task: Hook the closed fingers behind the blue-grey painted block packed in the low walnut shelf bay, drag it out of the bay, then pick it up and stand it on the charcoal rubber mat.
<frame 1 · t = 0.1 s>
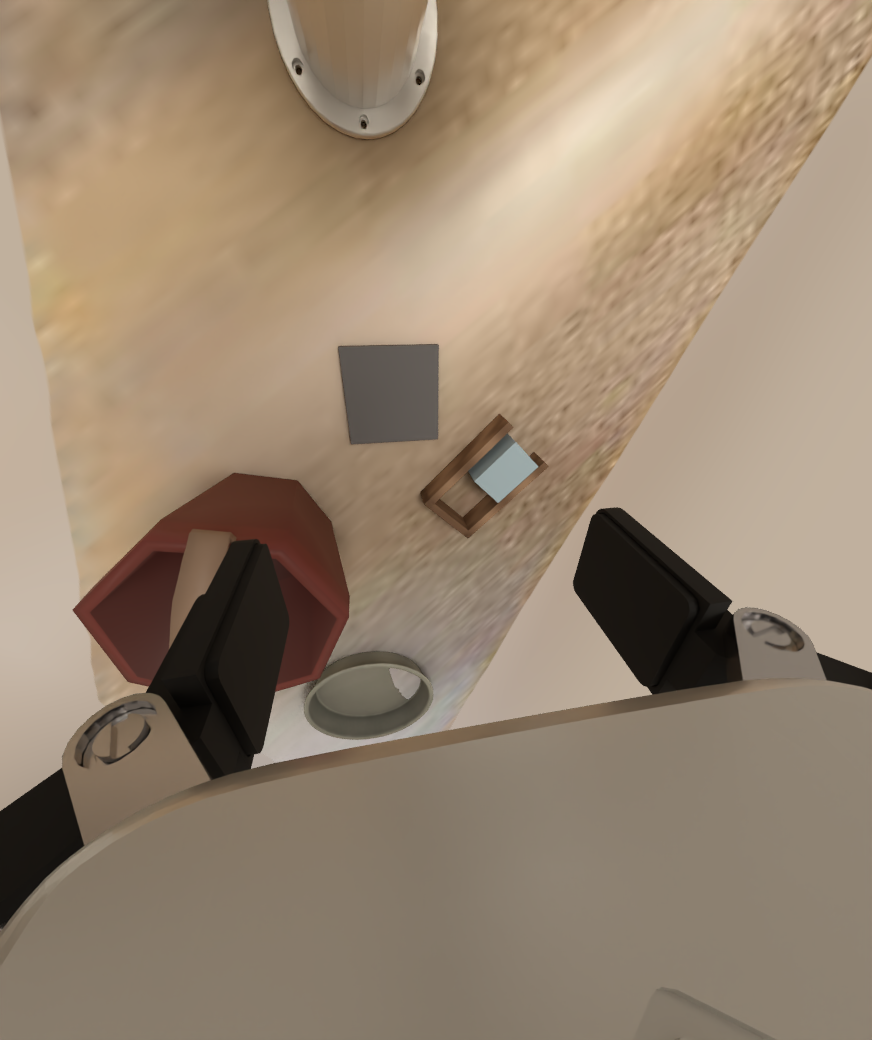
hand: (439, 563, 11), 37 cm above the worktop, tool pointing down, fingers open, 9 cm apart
mat: (392, 395, 43), on the worktop
bucket: (262, 526, 50), on the worktop
shelf bay: (481, 471, 51), on the worktop
cake pan: (370, 683, 73), on the worktop
block: (494, 458, 50), on the worktop
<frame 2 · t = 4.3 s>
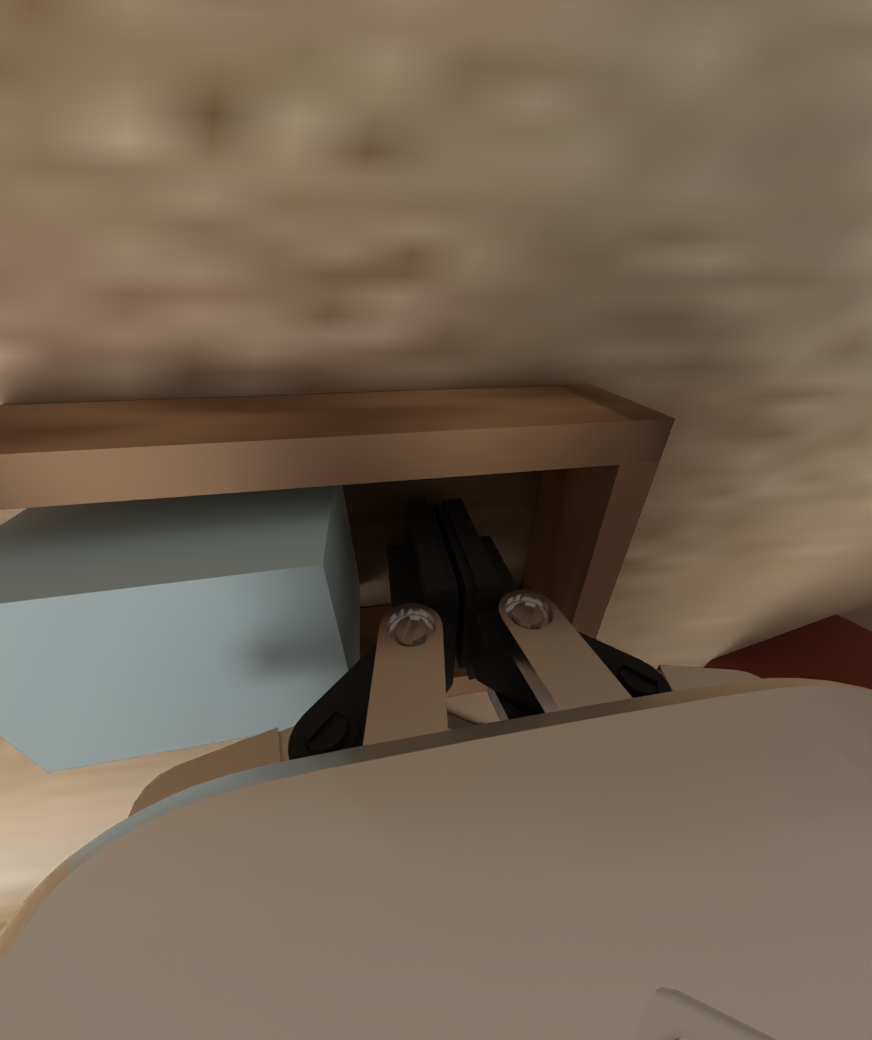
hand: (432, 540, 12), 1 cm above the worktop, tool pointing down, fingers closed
bucket: (750, 702, 25), on the worktop
shelf bay: (334, 534, 12), on the worktop
block: (238, 540, 11), on the worktop
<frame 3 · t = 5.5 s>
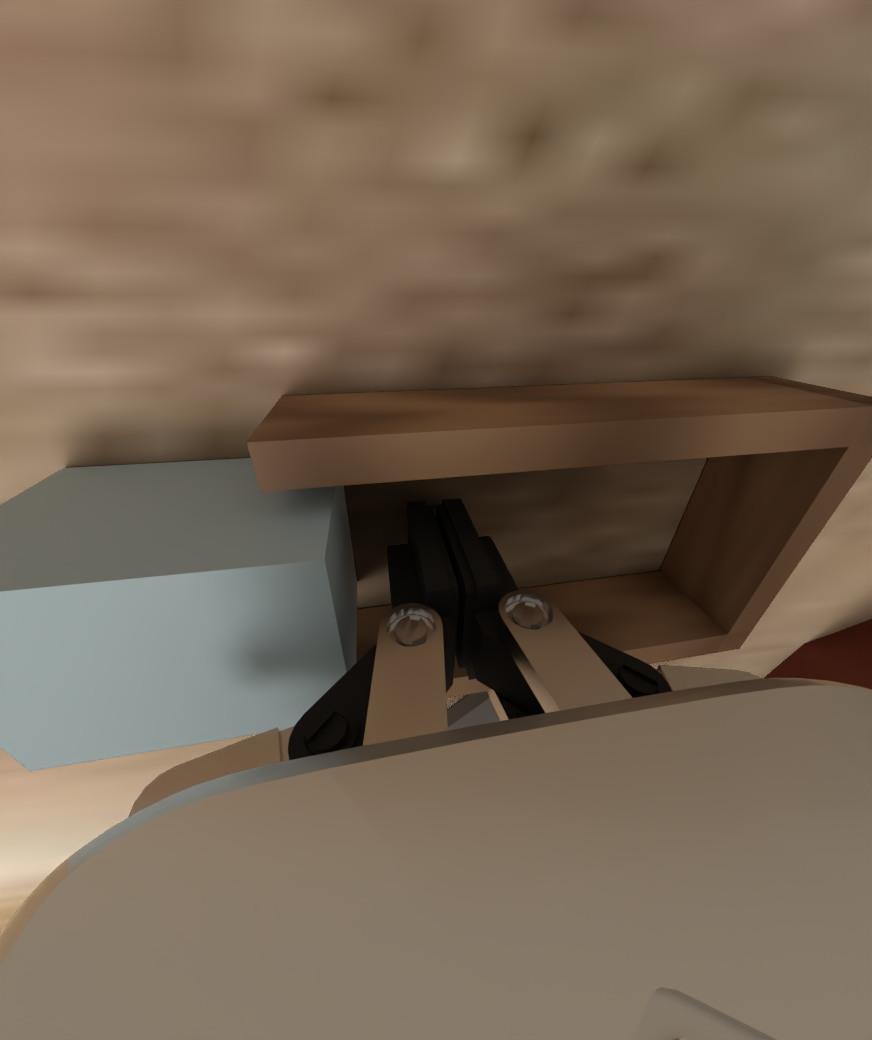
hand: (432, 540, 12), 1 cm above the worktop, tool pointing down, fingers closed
mat: (495, 745, 22), on the worktop
bucket: (826, 687, 26), on the worktop
shelf bay: (516, 517, 13), on the worktop
block: (234, 534, 11), on the worktop, touching gripper
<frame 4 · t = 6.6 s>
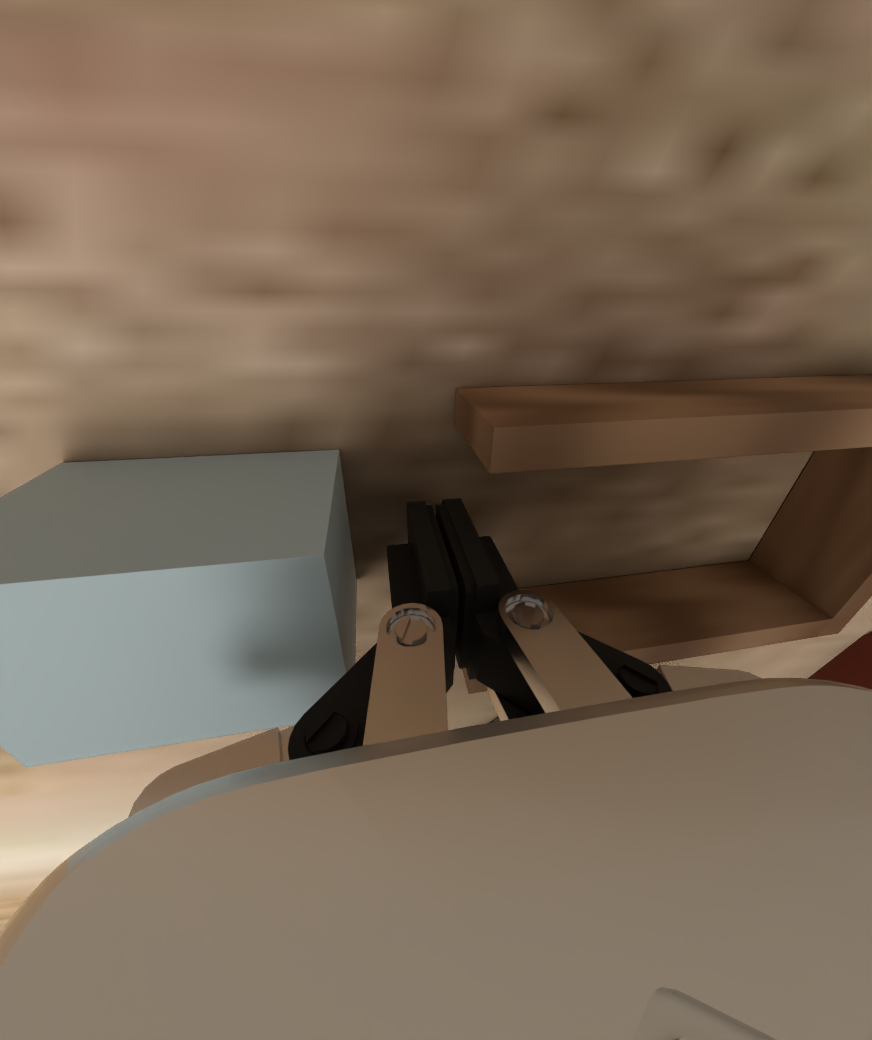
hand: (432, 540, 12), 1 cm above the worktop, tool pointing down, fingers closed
shelf bay: (633, 507, 13), on the worktop
block: (233, 531, 11), on the worktop, touching gripper
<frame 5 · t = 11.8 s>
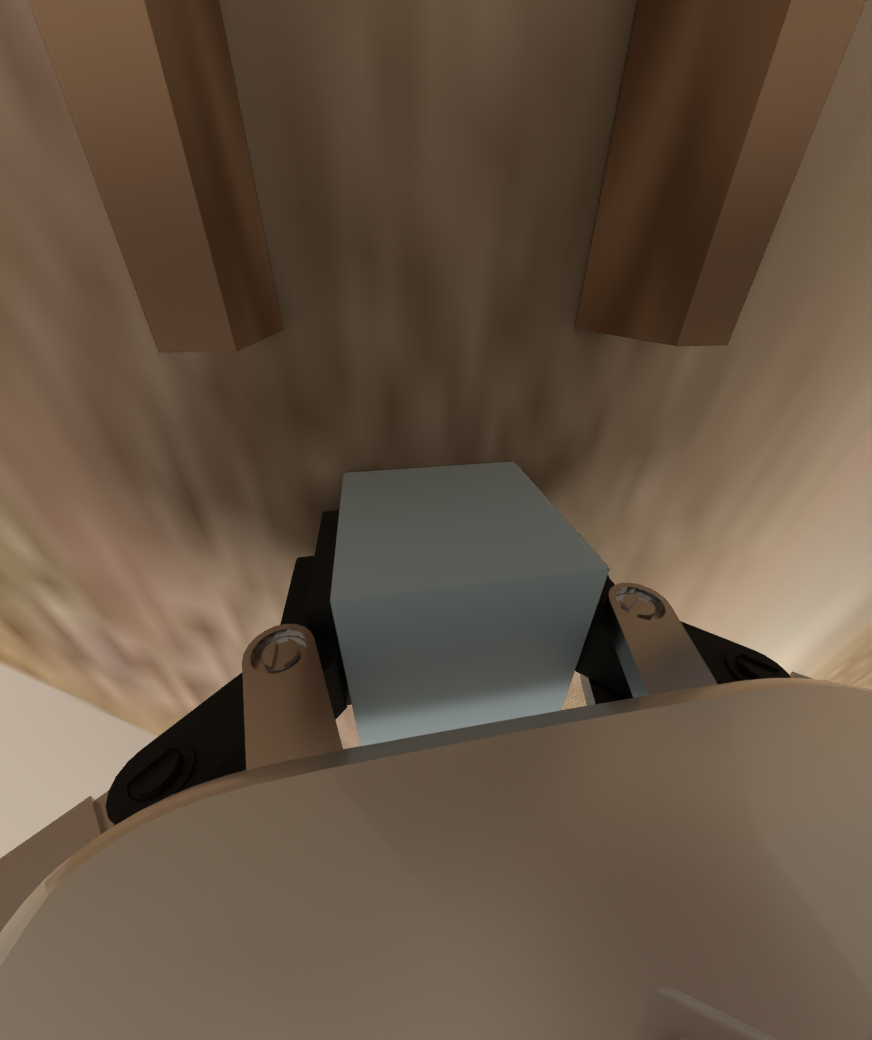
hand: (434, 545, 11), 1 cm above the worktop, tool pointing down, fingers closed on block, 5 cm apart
block: (431, 561, 12), on the worktop, touching gripper
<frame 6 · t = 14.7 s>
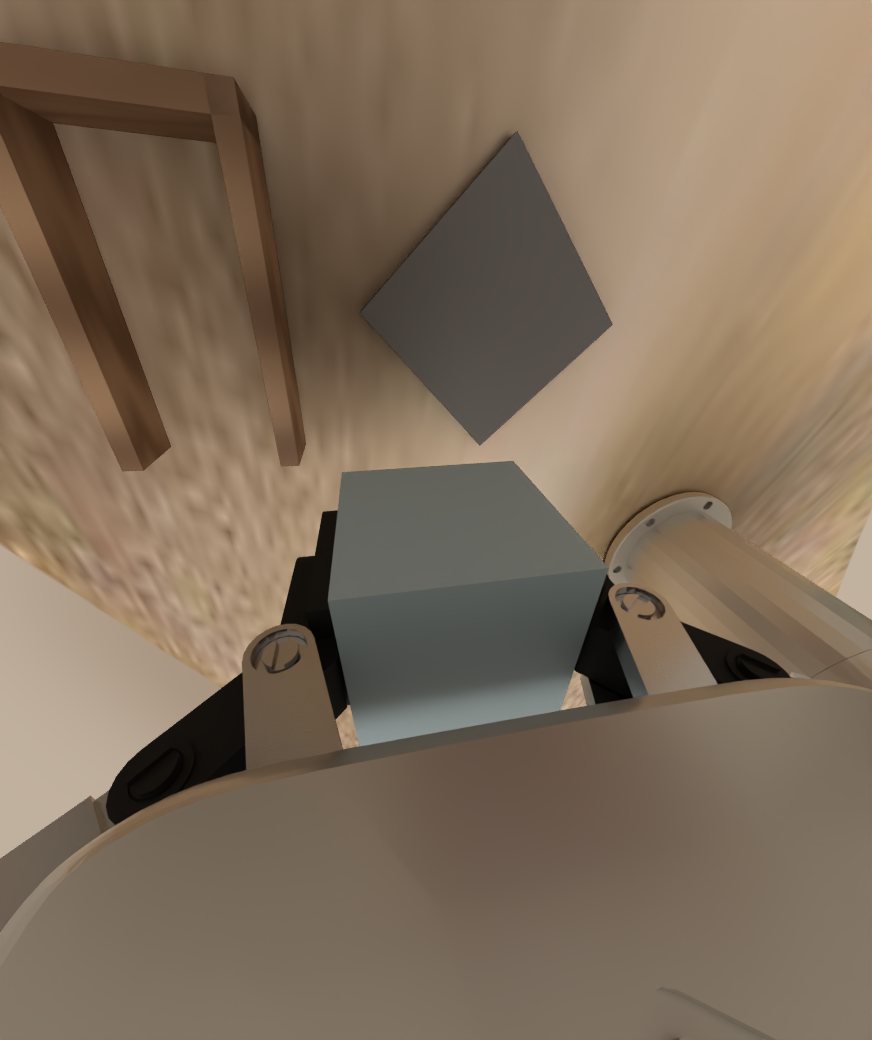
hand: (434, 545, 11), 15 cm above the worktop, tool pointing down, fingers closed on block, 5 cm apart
mat: (490, 318, 22), on the worktop
shelf bay: (198, 320, 19), on the worktop
block: (430, 561, 12), point 14 cm above the worktop, touching gripper
when the fingers open (3 cm above the worktop, at t = 18.1 s): block drops 1 cm, resting on mat.
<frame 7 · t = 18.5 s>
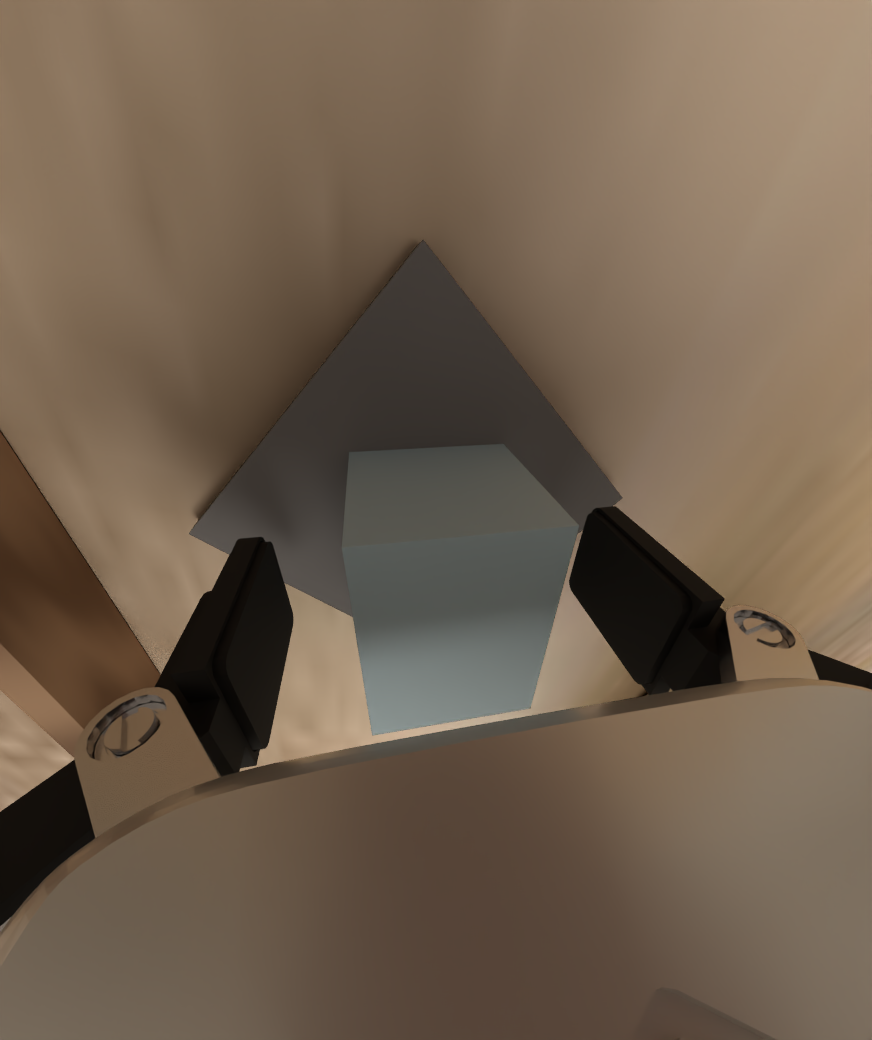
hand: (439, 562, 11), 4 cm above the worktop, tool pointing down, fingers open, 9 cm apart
mat: (422, 503, 13), on the worktop
block: (428, 537, 13), point 1 cm above the worktop, touching mat
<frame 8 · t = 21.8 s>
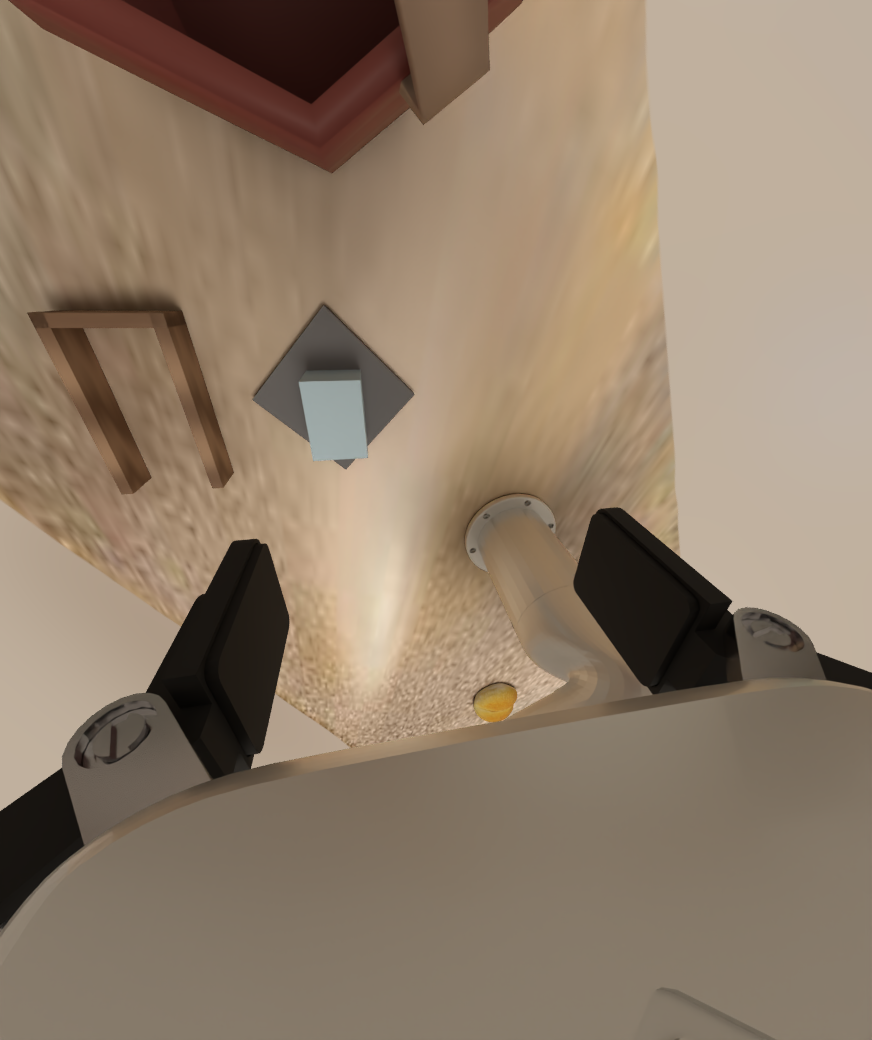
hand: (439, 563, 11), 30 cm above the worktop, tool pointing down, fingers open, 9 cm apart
mat: (336, 395, 36), on the worktop
bread roll: (493, 694, 71), on the worktop
shelf bay: (161, 408, 34), on the worktop
block: (338, 407, 36), point 1 cm above the worktop, touching mat
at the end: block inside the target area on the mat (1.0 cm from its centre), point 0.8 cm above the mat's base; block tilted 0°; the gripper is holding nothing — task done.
